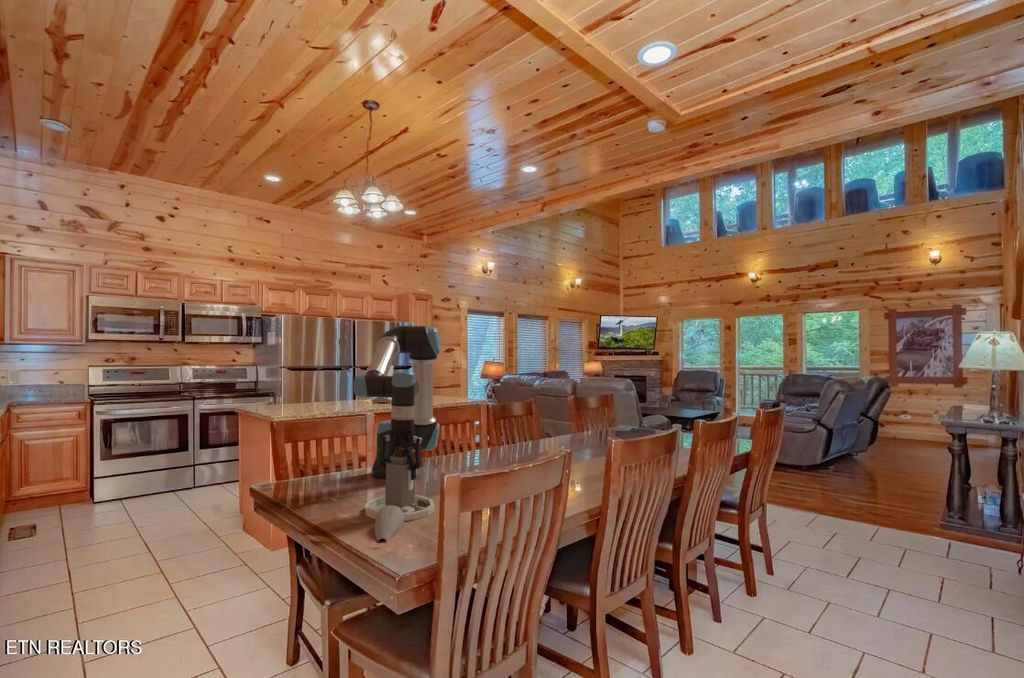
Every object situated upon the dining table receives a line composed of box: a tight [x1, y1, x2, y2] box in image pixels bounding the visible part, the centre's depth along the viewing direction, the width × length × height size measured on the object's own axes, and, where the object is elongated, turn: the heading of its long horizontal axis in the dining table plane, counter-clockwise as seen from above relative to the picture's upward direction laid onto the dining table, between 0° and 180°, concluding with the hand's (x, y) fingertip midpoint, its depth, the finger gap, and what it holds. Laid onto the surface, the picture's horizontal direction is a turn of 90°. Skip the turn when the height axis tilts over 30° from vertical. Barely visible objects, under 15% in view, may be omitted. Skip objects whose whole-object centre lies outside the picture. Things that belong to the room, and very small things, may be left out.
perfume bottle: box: [384, 448, 416, 508], centre depth 170 cm, size 7×7×18 cm
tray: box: [364, 494, 436, 522], centre depth 169 cm, size 22×22×3 cm
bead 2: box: [415, 507, 424, 512], centre depth 166 cm, size 3×3×2 cm
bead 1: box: [417, 499, 426, 507], centre depth 174 cm, size 3×3×2 cm
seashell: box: [374, 505, 405, 543], centre depth 150 cm, size 9×11×15 cm
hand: (400, 488), depth 170 cm, fingers closed on perfume bottle, 6 cm apart
